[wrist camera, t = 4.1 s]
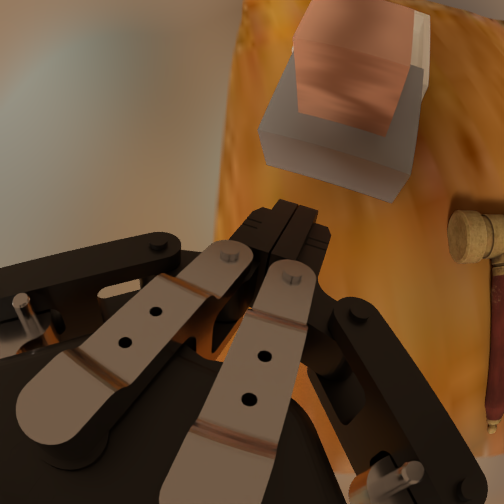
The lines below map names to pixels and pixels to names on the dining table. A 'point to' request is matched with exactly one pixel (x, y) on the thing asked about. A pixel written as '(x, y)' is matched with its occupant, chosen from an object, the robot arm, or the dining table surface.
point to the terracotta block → (353, 61)
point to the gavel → (500, 252)
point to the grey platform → (342, 141)
